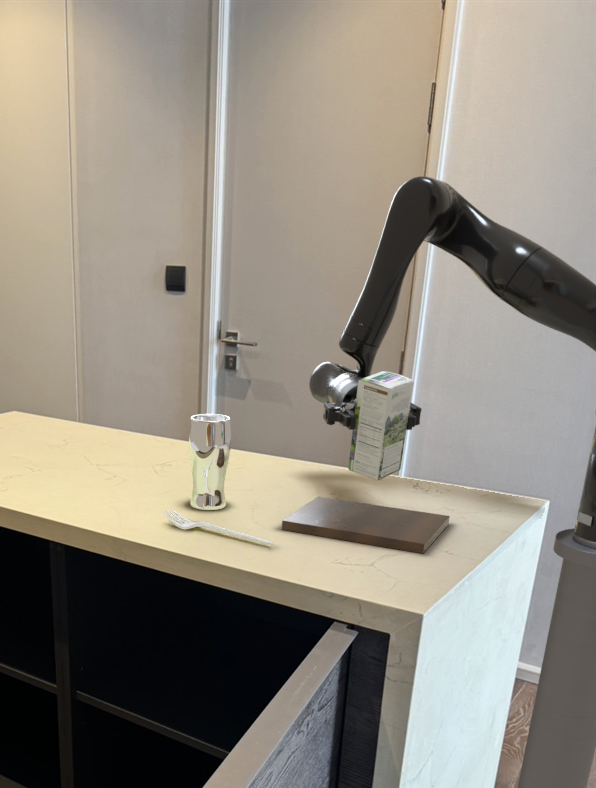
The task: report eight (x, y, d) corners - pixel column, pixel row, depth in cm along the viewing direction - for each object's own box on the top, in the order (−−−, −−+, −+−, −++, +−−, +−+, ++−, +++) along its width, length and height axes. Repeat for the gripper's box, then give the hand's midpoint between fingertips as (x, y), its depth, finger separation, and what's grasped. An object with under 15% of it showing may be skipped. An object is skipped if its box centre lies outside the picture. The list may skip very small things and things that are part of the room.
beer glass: (206, 497, 152) (208, 412, 146) (236, 505, 148) (240, 417, 142) (179, 505, 148) (180, 417, 142) (209, 513, 143) (212, 423, 137)
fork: (265, 550, 126) (266, 538, 126) (160, 523, 138) (161, 512, 138) (277, 545, 129) (278, 533, 128) (173, 519, 141) (173, 507, 140)
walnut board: (448, 524, 138) (449, 515, 137) (423, 553, 125) (424, 543, 125) (317, 504, 148) (318, 496, 148) (281, 529, 135) (282, 520, 135)
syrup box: (370, 460, 135) (381, 369, 128) (402, 471, 132) (414, 377, 124) (347, 470, 132) (356, 377, 125) (379, 482, 129) (390, 387, 121)
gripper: (316, 379, 141) (335, 397, 126) (404, 379, 141) (433, 397, 126) (313, 425, 144) (331, 447, 129) (398, 425, 143) (427, 448, 129)
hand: (381, 422), depth 127 cm, fingers closed on syrup box, 8 cm apart
